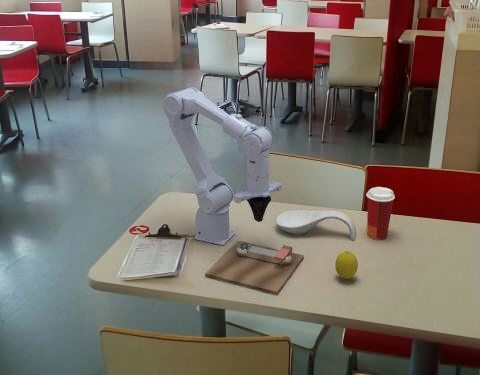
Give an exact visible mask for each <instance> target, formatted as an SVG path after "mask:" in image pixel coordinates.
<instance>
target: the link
mask: <svg viewBox="0 0 480 375" xmlns="http://www.w3.org/2000/svg"><path fill="white" fill-rule="evenodd" d="M247 243H248V242H246V243H242V244H240V245H238V246H237V255H239V256H241V257H250V258H255V259H260V260H264V261H269V262H273V263H278V264H282V265H289V264H291V261H292V256H291V255H290V254H288V256H287V257H286V258H285V259H284V261H280V260H276V259H274V256H275V255H276V254H277V253H278V251H274V250H269V249H264V248H260V247H255V246H251V245H249V244H247Z"/></svg>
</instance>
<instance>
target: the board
mask: <svg viewBox="0 0 480 375" xmlns="http://www.w3.org/2000/svg"><path fill="white" fill-rule="evenodd" d="M242 243H247V244H249V245H251V246H255V247H260V248H264V249H269V250H274V251H279V250H280V249H278V248H272V247H268V246H264V245H259V244H254V243H252V242H251V243H250V242H245V241H241V240H236V241H235V242H234V244H232V246H230V248H229V249H227V251H225V252H224V253H223V255H221V257H220V258H218V260H217V261H216V262H214V264H212V266H211V267H210V268H209V269H208V270H207V271H206V272H205V273H204V277H205V278H209V279H212V280H215V281H216V280H217V281H220V282H224V283H228V284H230V285H231V284H232V285H236V286H240V287H243V288H247V289H251V290H255V291H259V292H263V293H265V294H266V293H267V294H270V295H275V296H278V295H279V294H280V292H281V291H282V290H283V289H284V287H285V285H286V284H287V283H288V282H289V280H290V279H291V277H292V276H293V274H294V273H295V272H296V270H297V268H298V267H299V266H300V264H301V263H302V262H303V260H304V259H305V255H304V254H299V253H295V252H292V261H291V264H289V265H282V264H278V263H273V262H269V261H264V260H260V259H255V258H250V257H241V256H239V255H237V246H238V245H240V244H242Z"/></svg>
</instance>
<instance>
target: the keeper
mask: <svg viewBox="0 0 480 375" xmlns="http://www.w3.org/2000/svg"><path fill="white" fill-rule="evenodd" d="M278 250H279V251H278V253H277V254H276V255H275V256H274V259H276V260H280V261H284V259H285V258H286V257H287V256H288V254H290V255H291V256H292V253H293V246H289V245H285V244H283V245H282V247H281V248H279V249H278Z"/></svg>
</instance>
